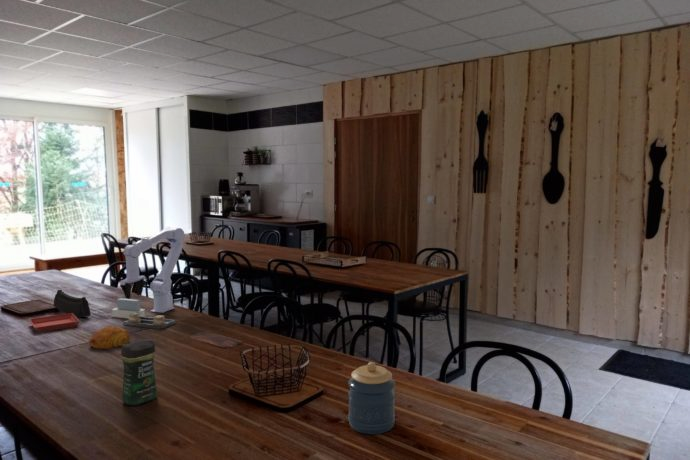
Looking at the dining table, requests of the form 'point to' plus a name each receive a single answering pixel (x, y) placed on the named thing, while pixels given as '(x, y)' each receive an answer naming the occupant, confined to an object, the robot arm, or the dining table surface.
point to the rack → (149, 323)
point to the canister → (371, 399)
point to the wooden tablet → (216, 339)
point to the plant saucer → (54, 322)
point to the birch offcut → (159, 319)
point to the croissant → (109, 338)
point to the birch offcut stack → (134, 317)
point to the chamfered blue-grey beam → (128, 304)
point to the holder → (126, 313)
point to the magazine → (71, 304)
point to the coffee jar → (138, 372)
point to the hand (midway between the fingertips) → (133, 296)
